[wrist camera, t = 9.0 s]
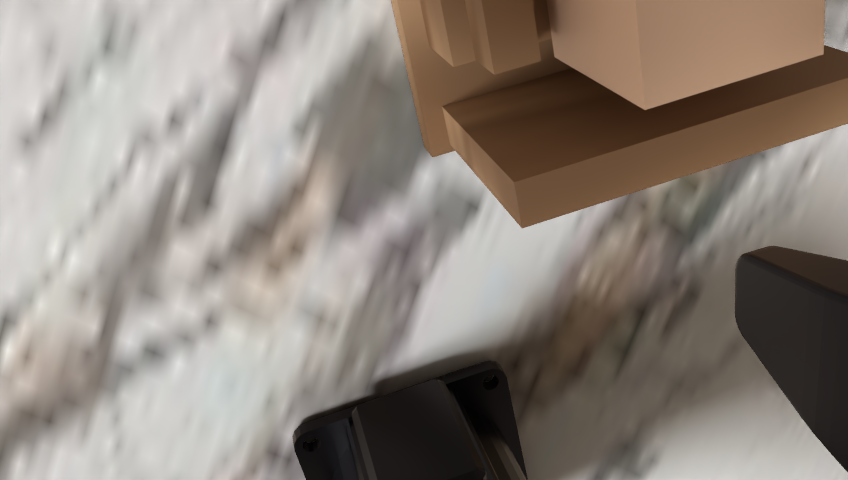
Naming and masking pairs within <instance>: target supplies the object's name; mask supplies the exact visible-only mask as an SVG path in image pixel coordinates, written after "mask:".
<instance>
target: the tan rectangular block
mask: <svg viewBox="0 0 848 480" xmlns="http://www.w3.org/2000/svg"><path fill="white" fill-rule="evenodd" d="M547 7H548V14H549V21H550V28H551V36H552V43H553V50H554V57H555V58H557V59H559V60H560V61H562V62H564V63H565V64H567V65H569V66H571V67H572V68H574V69H576V70H577V71H579V72H581V73H583V74H584V75H586V76H588V77H589V78H591V79H593V80H594V81H596V82H598V83H600V84H601V85H603V86H605V87H606V88H608V89H610V90H612V91H613V92H615V93H617V94H618V95H620V96H622V97H623V98H625V99H627V100H629V101H630V102H632V103H634V104H635V105H637V106H639V107H641V108H642V109H644V110H647V109H650V108H653V107H657V106H660V105H663V104H666V103H669V102H673V101H676V100H679V99H682V98H685V97H689V96H692V95H695V94H698V93H701V92H705V91H708V90H711V89H714V88H717V87H721V86H724V85H727V84H730V83H733V82H737V81H740V80H743V79H746V78H749V77H752V76H756V75H759V74H762V73H765V72H768V71H772V70H775V69H778V68H781V67H784V66H788V65H791V64H794V63H797V62H800V61H804V60H807V59H810V58H813V57H816V56H820V55H823V54H824V23H825V0H547Z"/></svg>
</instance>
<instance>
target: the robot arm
mask: <svg viewBox="0 0 848 480" xmlns="http://www.w3.org/2000/svg"><path fill="white" fill-rule="evenodd" d="M735 318H736V323H737V325H738V328H739V330H740V332H741V334H742V336H743V337H744V338H745V340H746V341H747V343H748V344H749V345H750V347H751V348H752V350H753V351H754V352H755V354H756V355H757V356H758V358H759V359H760V361H761V362H762V363H763V365H764V366H765V368H766V369H767V370H768V372H769V373H770V375H771V376H772V377H773V379H774V380H775V381H776V383H777V384H778V386H779V387H780V388H781V390H782V391H783V393H784V394H785V395H786V397H787V398H788V400H789V401H790V402H791V404H792V405H793V406H794V408H795V409H796V411H797V412H798V413H799V415H800V416H801V418H802V419H803V420H804V421H805V423H806V424H807V425H808V427H809V428H810V429H811V430H812V432H813V433H814V434H815V435H816V437H817V438H818V439H819V440H820V441H821V442H822V444H823V445H824V446H825V447H826V448H827V450H828V451H829V452H830V453H831V454H832V455H833V456H834V457H835V459H836V460H837V461H838V462H839V463H840V464H841V465H842V466H843V468H844V469H845V470H846V471H847V472H848V261H846V260H842V259H837V258H832V257H827V256H822V255H817V254H812V253H807V252H802V251H798V250H793V249H788V248H783V247H778V246H768V247H765V248H762V249H758V250H755V251H751V252H748V253H745V254H743V255H741V256H740V257H739V259H738V261H737V263H736V273H735ZM488 376H494V377H493V378H492V379H491V380H490V381H488V382H483V381H484V379H485V378H487V377H488ZM308 438H317V440H315V441H314V442H311V443H306V442H304V441H305V440H307V439H308ZM293 443H294V449H295V452H296V455H297V457H298V460H299V463H300V465H301V468H302V470H303V473H304V475H305V478H306V480H527V475H526V470H525V465H524V460H523V455H522V451H521V446H520V441H519V436H518V431H517V426H516V421H515V417H514V412H513V407H512V402H511V397H510V392H509V387H508V383H507V378H506V375H505V373H504V372H503V370H502V368H501V367H500V365H499V364H497V363H496V362H492V361H487V362H482V363H479V364H476V365H473V366H470V367H468V368H465V369H462V370H459V371H456V372H453V373H450V374H447V375H444V376H441V377H438V378H435V379H432V380H430V381H427V382H424V383H421V384H418V385H415V386H412V387H409V388H406V389H403V390H400V391H397V392H394V393H391V394H389V395H386V396H383V397H380V398H377V399H374V400H371V401H368V402H365V403H362V404H359V405H356V406H353V407H351V408H348V409H345V410H342V411H339V412H336V413H333V414H330V415H327V416H324V417H321V418H318V419H315V420H313V421H310V422H307V423H304V424H302V425H300V426H299V427H298V428H297V429H296V430H295V431H294V434H293Z"/></svg>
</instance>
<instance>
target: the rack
mask: <svg viewBox="0 0 848 480" xmlns="http://www.w3.org/2000/svg"><path fill="white" fill-rule="evenodd" d="M391 3H392V7H393V12H394V16H395V20H396V25H397V29H398V33H399V38H400V42H401V46H402V51H403V55H404V60H405V64H406V68H407V73H408V77H409V81H410V86H411V90H412V94H413V99H414V103H415V108H416V112H417V116H418V121H419V125H420V129H421V134H422V138H423V143H424V147H425V148H426V149H427V151H428V152H429V153H430V155H431V156H432V157H435V156H439V155H442V154H445V153H449V152H452V151H456V152H457V153H458V154H459V155H460V156H461V158H462V159H463V160H464V161H465V162H466V163H467V165H468V166H469V167H470V168H471V169H472V170H473V172H474V173H475V174H476V175H477V176H478V177H479V179H480V180H481V181H482V182H483V183H484V184H485V186H486V187H487V188H488V189H489V190H490V191H491V193H492V194H493V195H494V196H495V197H496V198H497V200H498V201H499V202H500V203H501V204H502V205H503V207H504V208H505V209H506V210H507V211H508V212H509V214H510V215H511V216H512V217H513V218H514V219H515V221H516V222H517V223H518V224H519V225H520V226H521V227H522V228H525V227H528V226H531V225H534V224H537V223H540V222H543V221H546V220H549V219H553V218H556V217H559V216H562V215H565V214H568V213H571V212H574V211H577V210H581V209H584V208H587V207H590V206H593V205H596V204H599V203H602V202H605V201H609V200H612V199H615V198H618V197H621V196H624V195H627V194H630V193H633V192H637V191H640V190H643V189H646V188H649V187H652V186H655V185H658V184H661V183H664V182H668V181H671V180H674V179H677V178H680V177H683V176H686V175H689V174H692V173H696V172H699V171H702V170H705V169H708V168H711V167H714V166H717V165H720V164H724V163H727V162H730V161H733V160H736V159H739V158H742V157H745V156H748V155H752V154H755V153H758V152H761V151H764V150H767V149H770V148H773V147H776V146H780V145H783V144H786V143H789V142H792V141H795V140H798V139H801V138H804V137H807V136H811V135H814V134H817V133H820V132H823V131H826V130H829V129H832V128H835V127H839V126H842V125H845V124H848V53H847V52H844V51H841V50H838V49H835V48H832V47H828V46H825V45H824V54H823V55H820V56H816V57H813V58H810V59H807V60H804V61H800V62H797V63H794V64H791V65H788V66H784V67H781V68H778V69H775V70H772V71H768V72H765V73H762V74H759V75H756V76H752V77H749V78H746V79H743V80H740V81H737V82H733V83H730V84H727V85H724V86H721V87H717V88H714V89H711V90H708V91H705V92H701V93H698V94H695V95H692V96H689V97H685V98H682V99H679V100H676V101H673V102H669V103H666V104H663V105H660V106H657V107H653V108H650V109H647V110H644V109H642V108H641V107H639V106H637V105H635V104H634V103H632V102H630V101H629V100H627V99H625V98H623V97H622V96H620V95H618V94H617V93H615V92H613V91H612V90H610V89H608V88H606V87H605V86H603V85H601V84H600V83H598V82H596V81H594V80H593V79H591V78H589V77H588V76H586V75H584V74H583V73H581V72H579V71H577V70H576V69H574V68H572V67H571V66H569V65H567V64H565V63H564V62H562V61H560V60H559V59H557V58H555V57H554V50H553V43H552V36H551V28H550V21H549V14H548V7H547V0H391Z"/></svg>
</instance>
